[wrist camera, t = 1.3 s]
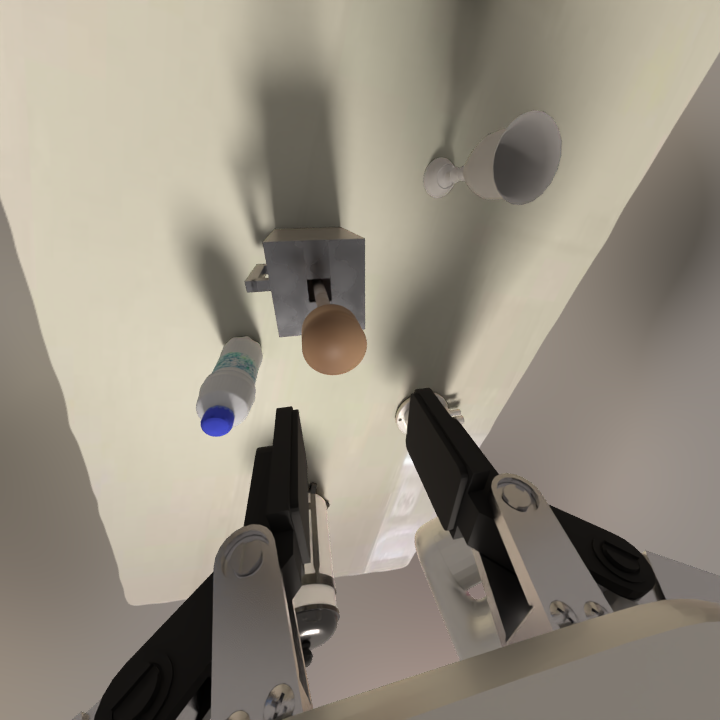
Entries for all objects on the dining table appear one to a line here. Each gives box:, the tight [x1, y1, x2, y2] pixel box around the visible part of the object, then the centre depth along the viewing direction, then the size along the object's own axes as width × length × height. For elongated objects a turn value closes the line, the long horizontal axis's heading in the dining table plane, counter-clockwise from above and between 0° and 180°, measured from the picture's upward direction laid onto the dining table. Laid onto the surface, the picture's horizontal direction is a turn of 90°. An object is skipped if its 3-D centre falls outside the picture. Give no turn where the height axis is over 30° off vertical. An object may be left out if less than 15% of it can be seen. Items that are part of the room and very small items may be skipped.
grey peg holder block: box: [245, 227, 365, 337], centre depth 35 cm, size 13×10×17 cm
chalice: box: [423, 110, 562, 205], centre depth 33 cm, size 7×7×18 cm
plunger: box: [302, 278, 367, 375], centre depth 25 cm, size 7×7×19 cm
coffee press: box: [293, 483, 340, 667], centre depth 57 cm, size 17×16×30 cm
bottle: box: [196, 336, 263, 437], centre depth 39 cm, size 7×7×20 cm
